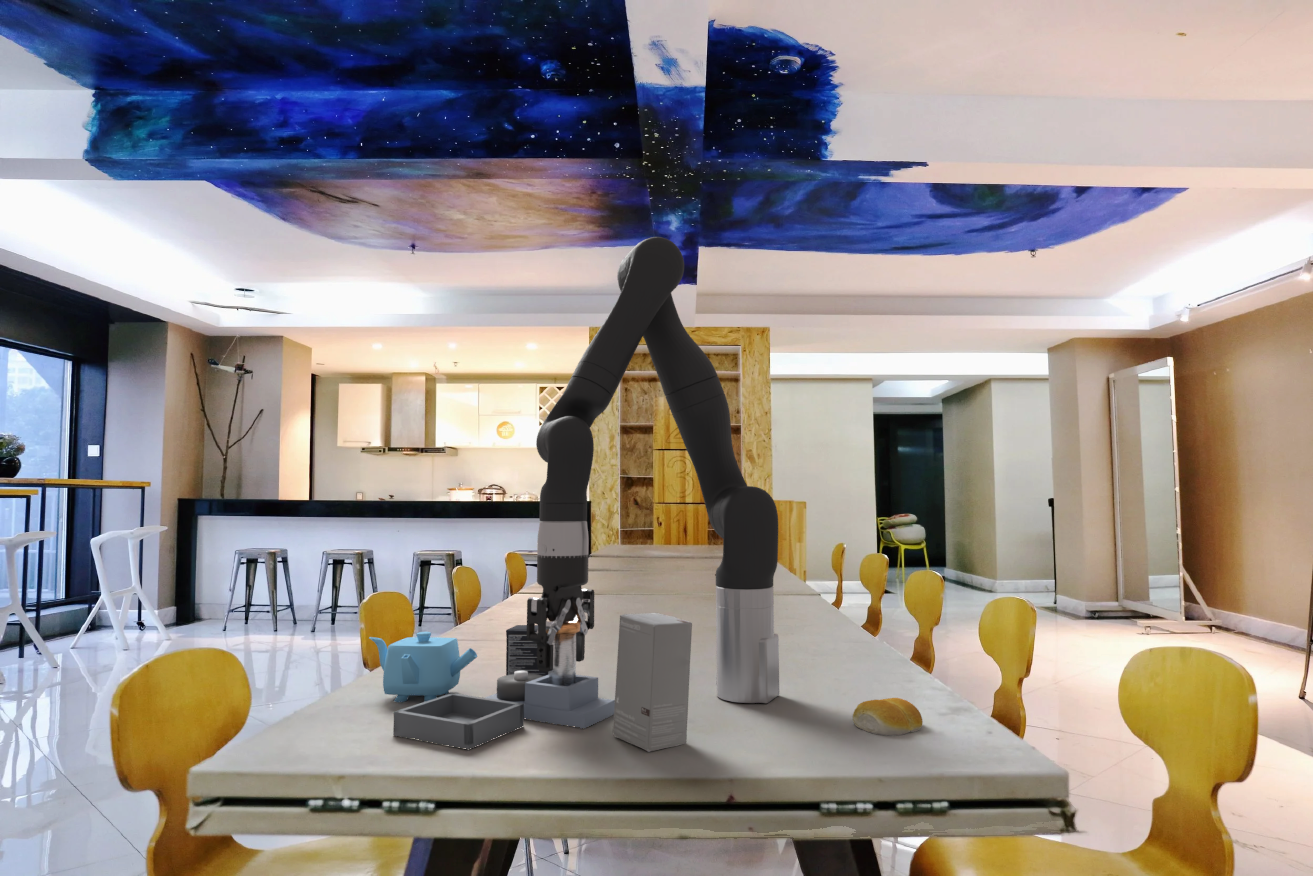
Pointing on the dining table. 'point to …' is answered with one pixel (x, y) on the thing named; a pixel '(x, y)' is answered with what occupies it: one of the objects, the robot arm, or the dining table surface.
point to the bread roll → (887, 716)
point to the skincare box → (652, 680)
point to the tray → (458, 720)
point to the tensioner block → (555, 699)
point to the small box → (521, 651)
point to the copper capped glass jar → (564, 655)
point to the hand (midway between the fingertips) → (561, 665)
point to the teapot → (421, 665)
